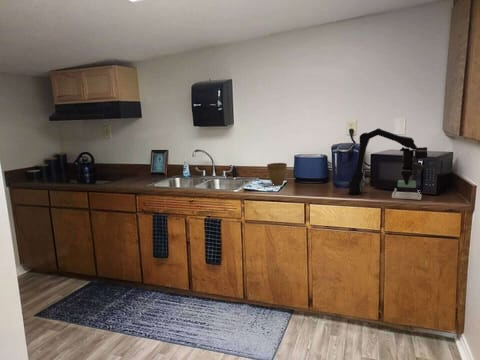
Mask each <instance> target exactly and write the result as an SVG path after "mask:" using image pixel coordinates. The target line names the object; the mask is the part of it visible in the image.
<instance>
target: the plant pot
mask: <svg viewBox="0 0 480 360" xmlns="http://www.w3.org/2000/svg"><path fill="white" fill-rule="evenodd" d="M287 166H288V164H287V163H285V162H274V163H268V164H266V167H267V171H268V172H267V173H268V175H269V179H270V182H271V184H272V185H273V184H274V185H280V186H282V185H281V184H284V182H285V177H286V174H287ZM274 185H273V186H274Z"/></svg>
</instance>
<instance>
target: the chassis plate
mask: <svg viewBox="0 0 480 360" xmlns="http://www.w3.org/2000/svg"><path fill="white" fill-rule="evenodd" d="M419 191H420V192H419ZM420 193H421V189H420V190H418V189H417V192H411V191H410V192H409V191H397V188H396V187H395V188H394V191H392V194H391V198H392V199H405V200H419V201H420V200H422V193H421V194H420Z"/></svg>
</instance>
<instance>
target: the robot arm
mask: <svg viewBox="0 0 480 360" xmlns="http://www.w3.org/2000/svg"><path fill="white" fill-rule="evenodd" d="M377 136H380V137H382V138H385V139H388V140H391V141H394V142H396V143H398V144H400V145H401V146H402V147H401V149H400V150H399V152H402V169H401V173H400V174H401V176H402V178H403V180H404V181H405V184H406V185H408V182H409V181H410V177H412V176H413V175H414V170H417V171H419V172H422V171H423V169H424V165H423V164H422V162H421V161H418V162H415V160H414V158H416V159H418V160H419V159H425V160H427V159H428V147H427V146H424V147H418V146H417V144H415V140H414V138H413V137H410V136H403V135H398V134H395V133H393V132H390V131H387V130H385V129H381V128H378V127H377V128H376V129H374V130H372V131H370V132H363V133H361V134H360V135H359V151H358V156H357V161H356V162H357V163H356V168H355V171H354V173H353V176H352V179H350V181H349V182H348V186H349V188H348V190H349V191H348V195H355V196H356V195H357V196H358V195H360V194H361V193H362V192H361V185H360V182H361V181H362V179H363V178H364V177H365V173H366V171H364V163H365V158H366V151H367V148H368V145H369V142H370V139H373V138H374V137H377Z"/></svg>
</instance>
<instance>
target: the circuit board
mask: <svg viewBox="0 0 480 360" xmlns="http://www.w3.org/2000/svg"><path fill="white" fill-rule="evenodd" d="M397 187H398V188H413V189H414V188H417V180H409V182H408V185H406V184H405V181H404V179H403V180H402V179H398V180H397Z"/></svg>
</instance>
